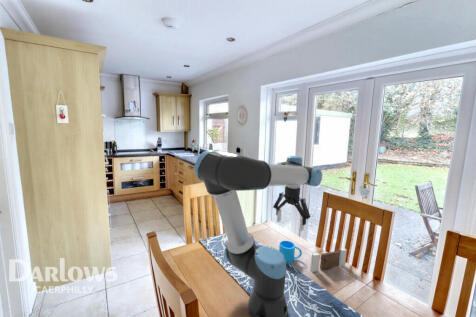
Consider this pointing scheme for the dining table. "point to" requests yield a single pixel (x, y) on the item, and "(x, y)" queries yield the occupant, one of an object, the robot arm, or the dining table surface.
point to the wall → (317, 256)
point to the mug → (288, 251)
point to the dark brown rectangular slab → (329, 260)
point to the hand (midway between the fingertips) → (289, 225)
